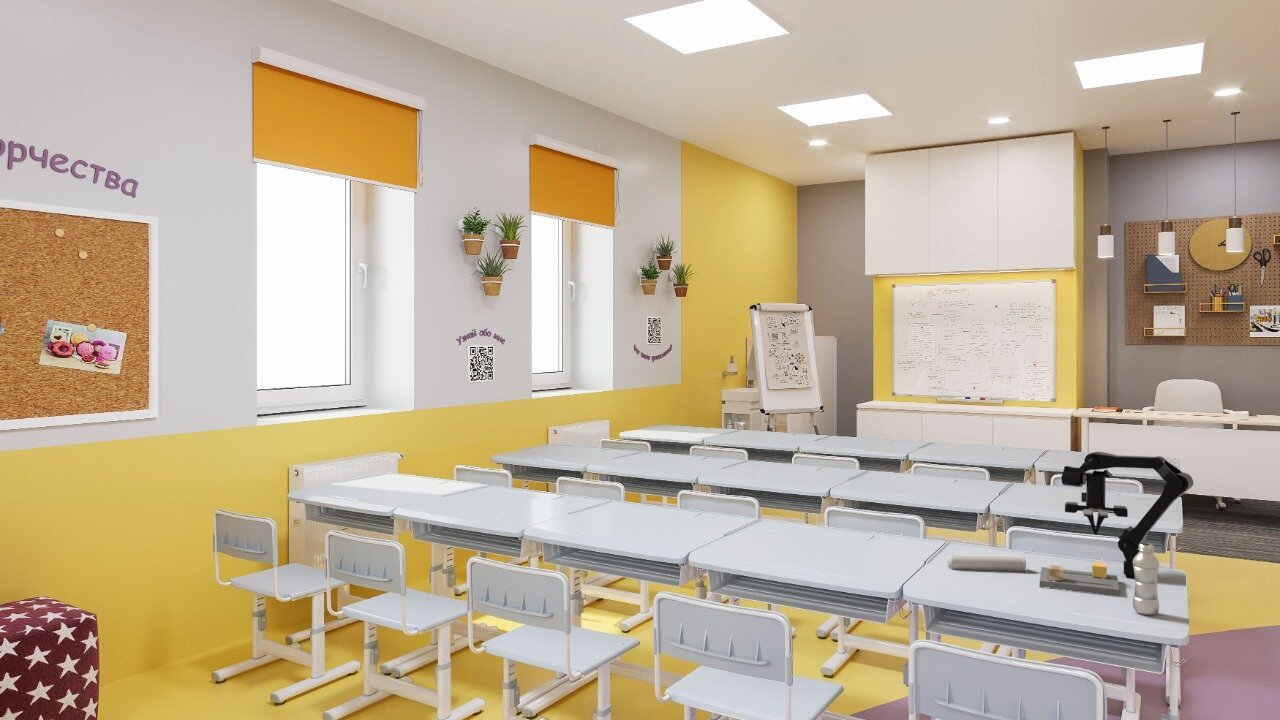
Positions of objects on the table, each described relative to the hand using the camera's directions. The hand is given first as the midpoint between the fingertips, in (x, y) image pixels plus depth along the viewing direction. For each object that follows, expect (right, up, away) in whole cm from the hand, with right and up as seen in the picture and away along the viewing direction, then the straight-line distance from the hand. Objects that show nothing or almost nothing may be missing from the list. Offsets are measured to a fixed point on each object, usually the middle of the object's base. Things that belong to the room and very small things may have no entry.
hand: (1095, 534), depth 285 cm
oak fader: (-23, -10, -18) cm, 31 cm away
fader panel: (-15, -13, -17) cm, 25 cm away
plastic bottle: (-11, -13, -46) cm, 49 cm away
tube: (-37, -13, +1) cm, 39 cm away
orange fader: (-7, -10, -15) cm, 19 cm away
